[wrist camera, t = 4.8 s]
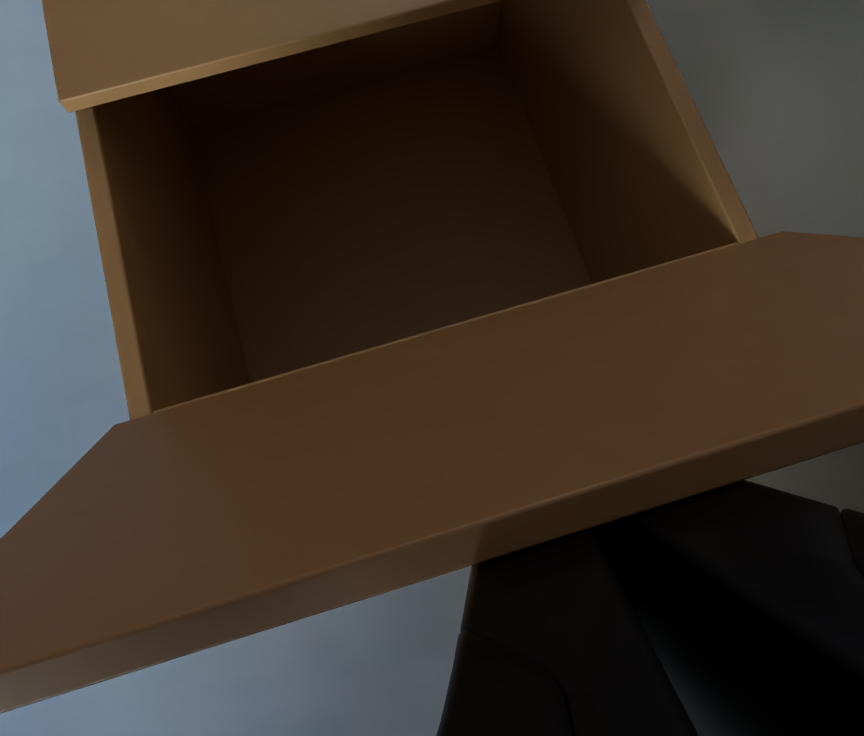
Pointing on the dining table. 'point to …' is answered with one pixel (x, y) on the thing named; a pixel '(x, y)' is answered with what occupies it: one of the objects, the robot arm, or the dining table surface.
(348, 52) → the carton
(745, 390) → the flap
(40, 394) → the dining table surface
